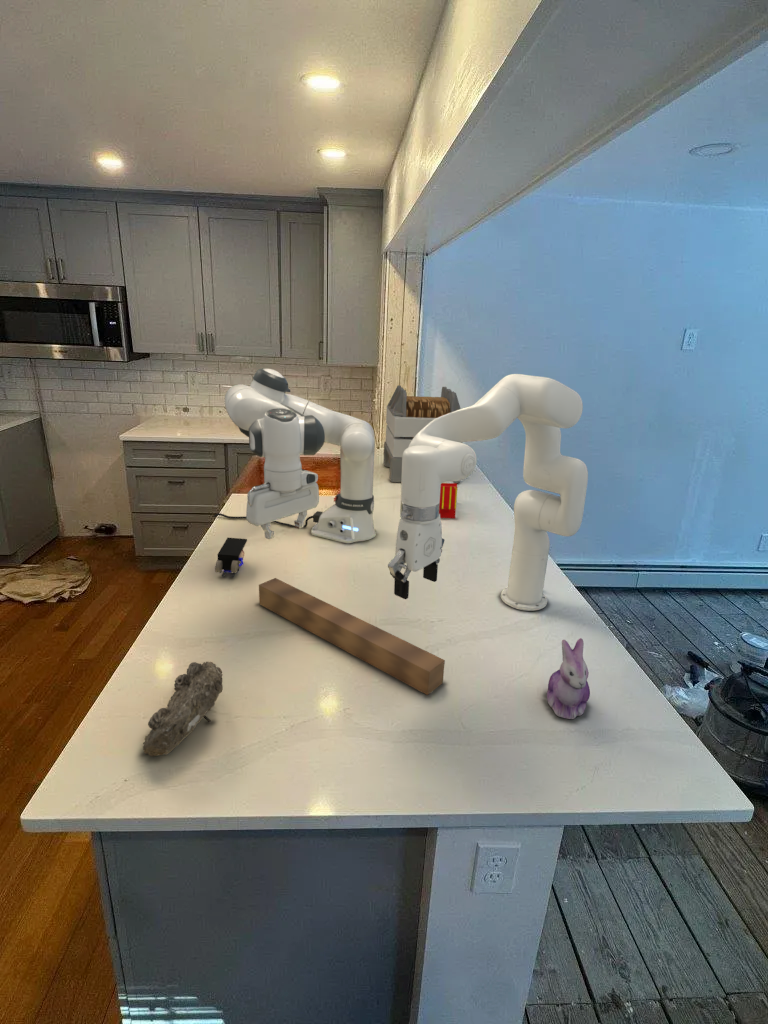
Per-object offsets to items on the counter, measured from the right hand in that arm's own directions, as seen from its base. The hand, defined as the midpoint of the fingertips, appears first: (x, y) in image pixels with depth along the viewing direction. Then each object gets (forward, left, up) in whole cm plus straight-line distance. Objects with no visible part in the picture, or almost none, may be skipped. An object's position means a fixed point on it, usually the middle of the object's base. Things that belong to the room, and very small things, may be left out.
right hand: (415, 587), depth 116 cm
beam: (-2, -20, -21) cm, 29 cm away
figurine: (-11, +31, -21) cm, 39 cm away
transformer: (-140, -80, -21) cm, 163 cm away
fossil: (+37, -26, -21) cm, 50 cm away
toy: (-102, -49, -21) cm, 115 cm away
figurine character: (-11, -69, -21) cm, 73 cm away
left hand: (-4, -40, +1) cm, 40 cm away
